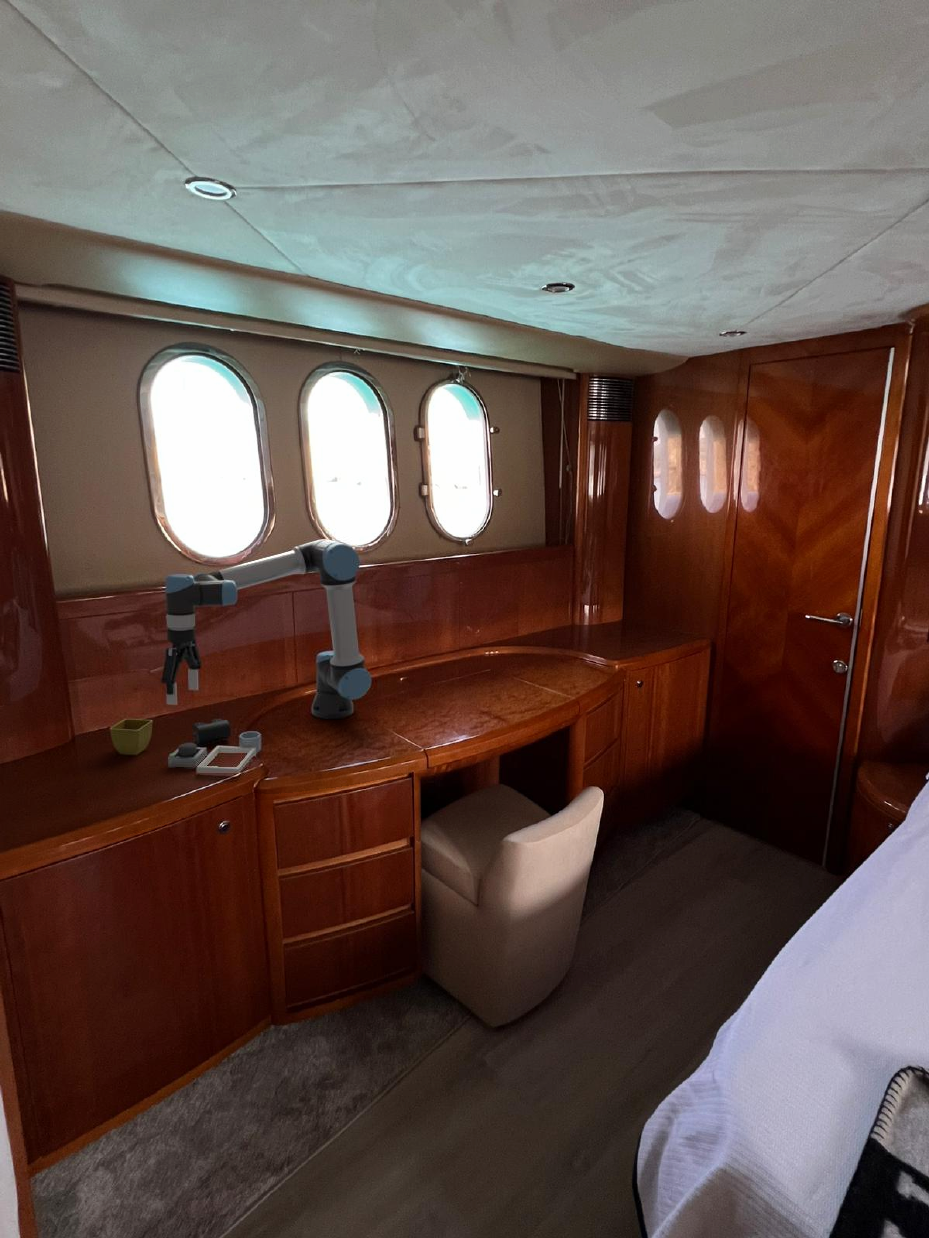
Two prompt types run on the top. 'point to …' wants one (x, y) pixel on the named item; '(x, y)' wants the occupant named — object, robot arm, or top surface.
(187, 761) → the box
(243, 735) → the blue-grey short hollow cylinder
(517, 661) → the top surface
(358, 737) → the top surface
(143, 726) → the flower pot
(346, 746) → the top surface
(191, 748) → the test button
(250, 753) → the light grey rectangular frame
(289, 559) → the robot arm
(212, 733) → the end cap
